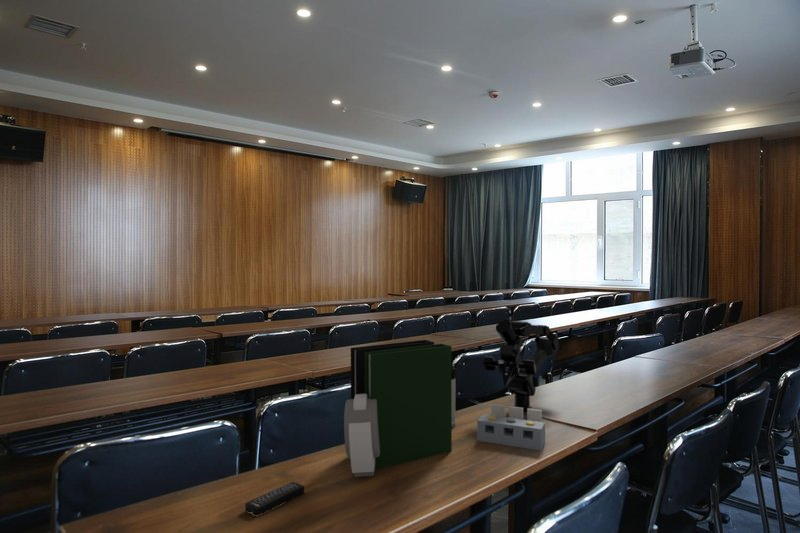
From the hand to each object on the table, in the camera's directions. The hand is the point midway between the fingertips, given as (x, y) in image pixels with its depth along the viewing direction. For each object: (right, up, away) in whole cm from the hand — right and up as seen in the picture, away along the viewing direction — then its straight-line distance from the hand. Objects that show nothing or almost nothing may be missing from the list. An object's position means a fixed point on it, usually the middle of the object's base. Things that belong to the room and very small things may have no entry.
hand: (505, 385), depth 176 cm
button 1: (-5, -11, -11) cm, 17 cm away
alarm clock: (-47, -14, -38) cm, 62 cm away
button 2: (0, -11, -14) cm, 18 cm away
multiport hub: (-67, -15, -57) cm, 89 cm away
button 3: (+5, -11, -17) cm, 20 cm away
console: (-2, -14, -18) cm, 23 cm away
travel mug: (-21, -14, -2) cm, 25 cm away
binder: (-37, -14, -26) cm, 48 cm away
